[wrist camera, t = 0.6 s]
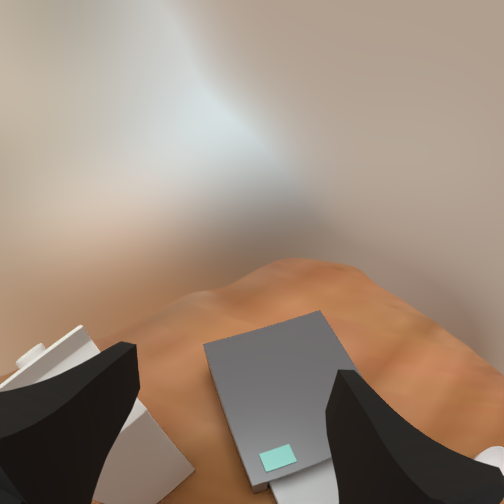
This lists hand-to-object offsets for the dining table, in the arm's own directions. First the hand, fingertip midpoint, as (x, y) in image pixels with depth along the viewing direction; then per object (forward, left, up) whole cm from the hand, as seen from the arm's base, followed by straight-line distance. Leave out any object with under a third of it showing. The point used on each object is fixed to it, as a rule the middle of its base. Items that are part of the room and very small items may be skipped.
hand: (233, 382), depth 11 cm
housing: (+5, -6, -20) cm, 21 cm away
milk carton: (+3, +9, -20) cm, 22 cm away
